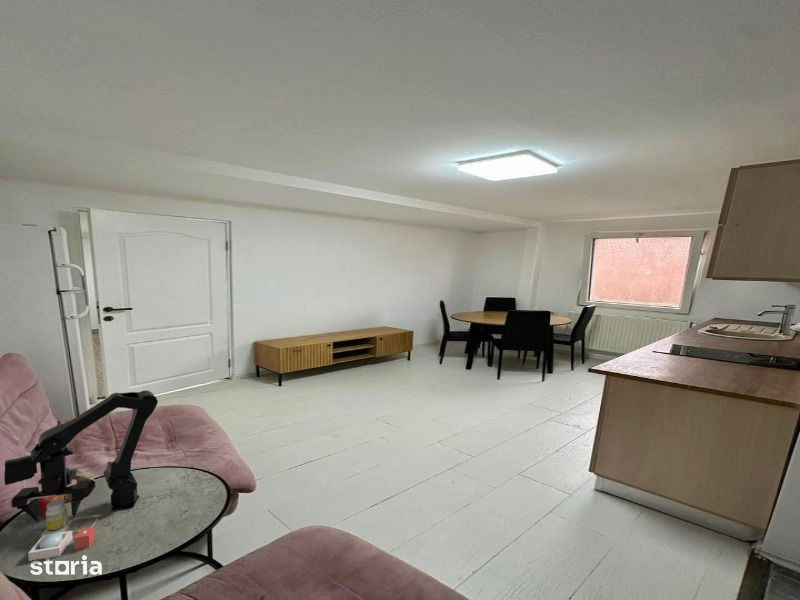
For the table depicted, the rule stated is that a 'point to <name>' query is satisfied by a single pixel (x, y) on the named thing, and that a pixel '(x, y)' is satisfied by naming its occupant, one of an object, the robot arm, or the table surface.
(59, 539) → the dome
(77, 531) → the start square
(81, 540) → the red die
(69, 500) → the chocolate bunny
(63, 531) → the pad
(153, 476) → the table surface
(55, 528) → the supplement bottle
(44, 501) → the apple
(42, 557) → the tray
